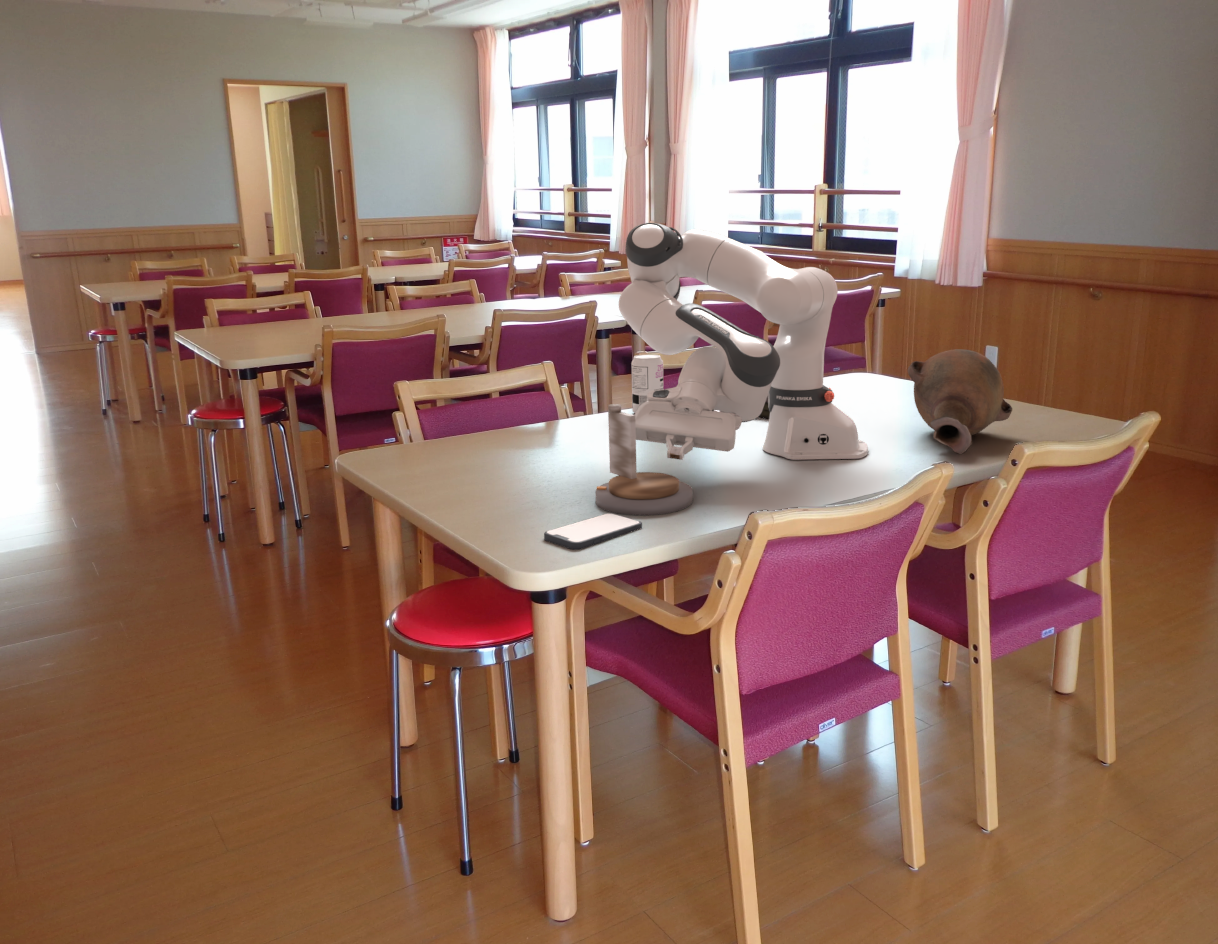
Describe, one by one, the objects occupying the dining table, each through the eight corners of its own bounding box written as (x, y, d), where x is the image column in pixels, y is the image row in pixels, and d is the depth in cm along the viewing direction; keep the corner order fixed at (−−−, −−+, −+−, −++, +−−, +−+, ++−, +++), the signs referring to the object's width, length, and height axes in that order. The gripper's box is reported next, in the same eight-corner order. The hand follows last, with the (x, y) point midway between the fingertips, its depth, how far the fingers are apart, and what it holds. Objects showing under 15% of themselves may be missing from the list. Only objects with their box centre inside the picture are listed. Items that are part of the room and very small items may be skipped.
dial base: (699, 489, 190) (699, 476, 190) (684, 517, 173) (684, 504, 173) (608, 485, 194) (607, 473, 194) (584, 513, 177) (584, 500, 177)
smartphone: (609, 520, 175) (540, 541, 165) (609, 511, 175) (540, 532, 164) (645, 531, 169) (576, 553, 158) (645, 522, 169) (576, 543, 158)
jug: (929, 422, 240) (906, 473, 216) (913, 345, 234) (888, 389, 210) (1018, 411, 230) (1005, 463, 205) (1004, 331, 224) (989, 375, 199)
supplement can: (630, 410, 263) (629, 354, 259) (661, 409, 264) (660, 353, 260) (634, 417, 255) (632, 359, 251) (665, 415, 256) (665, 358, 252)
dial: (693, 489, 182) (693, 411, 178) (639, 503, 174) (638, 422, 171) (638, 473, 194) (636, 399, 190) (585, 486, 186) (582, 409, 183)
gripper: (743, 426, 194) (729, 475, 185) (643, 414, 199) (624, 461, 190) (743, 402, 189) (729, 451, 180) (640, 390, 195) (621, 437, 186)
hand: (674, 456), depth 185 cm, fingers closed
